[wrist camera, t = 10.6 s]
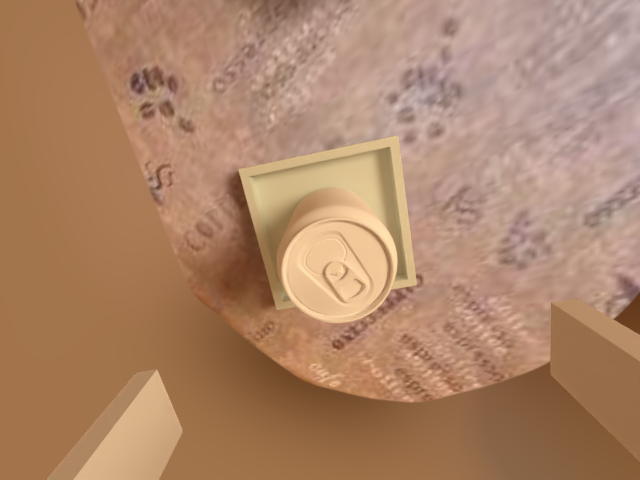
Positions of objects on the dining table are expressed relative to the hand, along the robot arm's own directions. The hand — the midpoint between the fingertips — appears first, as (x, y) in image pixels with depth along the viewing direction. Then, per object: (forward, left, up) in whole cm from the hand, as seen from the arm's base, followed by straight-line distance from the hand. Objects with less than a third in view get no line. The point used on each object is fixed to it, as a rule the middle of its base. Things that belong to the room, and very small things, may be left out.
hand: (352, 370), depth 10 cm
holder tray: (0, 0, -22) cm, 22 cm away
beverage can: (0, 0, -21) cm, 21 cm away
